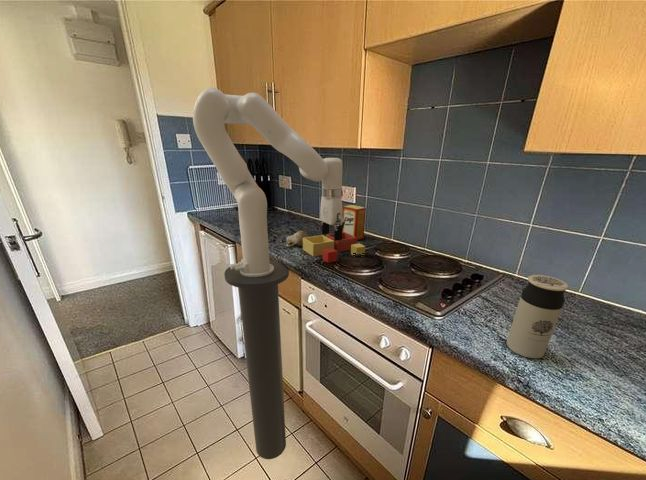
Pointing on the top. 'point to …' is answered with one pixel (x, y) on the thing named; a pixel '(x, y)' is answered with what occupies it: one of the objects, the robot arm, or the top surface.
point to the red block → (329, 255)
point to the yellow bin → (317, 244)
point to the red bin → (343, 242)
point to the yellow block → (357, 249)
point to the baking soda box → (354, 220)
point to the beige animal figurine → (296, 239)
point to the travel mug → (536, 316)
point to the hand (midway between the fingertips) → (331, 236)
